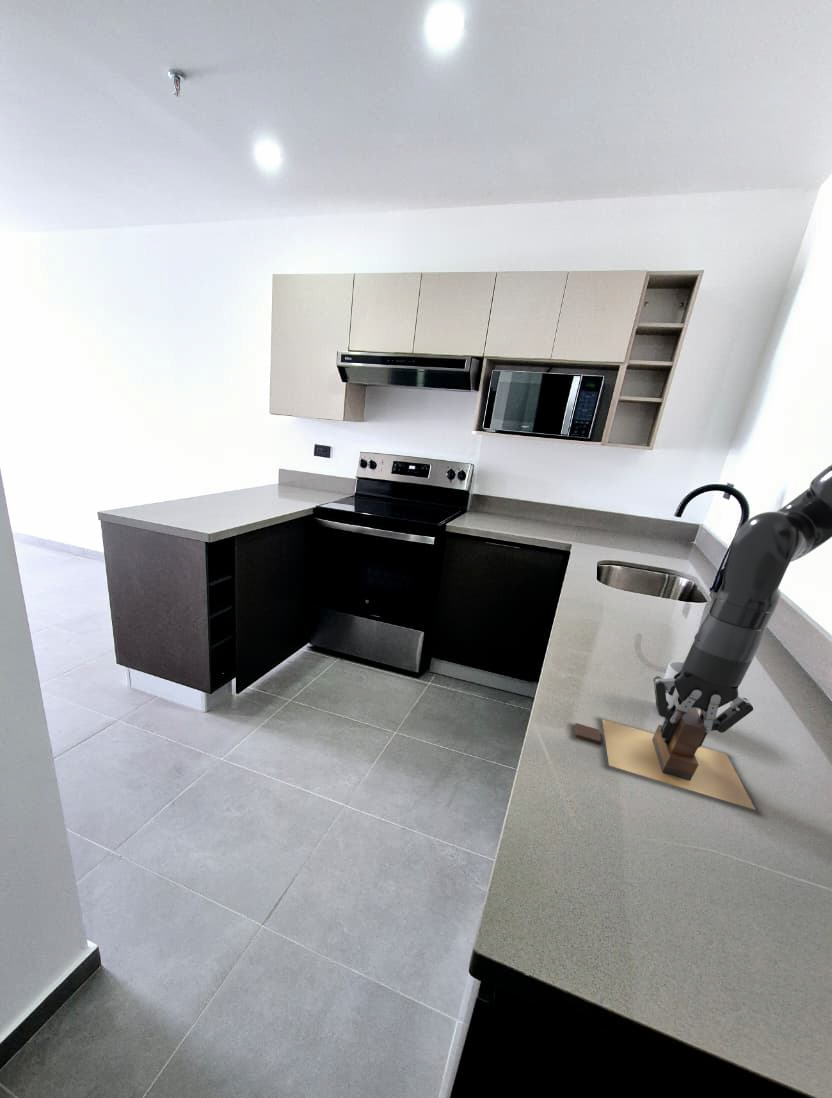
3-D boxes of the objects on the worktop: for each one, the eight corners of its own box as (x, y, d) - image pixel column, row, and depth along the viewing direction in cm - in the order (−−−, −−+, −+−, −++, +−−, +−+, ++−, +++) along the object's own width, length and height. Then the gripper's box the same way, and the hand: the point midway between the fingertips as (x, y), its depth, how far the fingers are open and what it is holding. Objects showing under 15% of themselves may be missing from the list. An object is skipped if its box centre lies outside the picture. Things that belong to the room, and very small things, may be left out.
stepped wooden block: (677, 746, 86) (697, 704, 83) (690, 781, 78) (713, 736, 74) (651, 739, 87) (670, 698, 84) (662, 772, 79) (683, 727, 75)
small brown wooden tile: (596, 736, 88) (599, 729, 87) (598, 748, 84) (601, 741, 84) (572, 729, 89) (575, 722, 88) (573, 741, 86) (576, 734, 85)
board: (723, 758, 86) (726, 753, 86) (752, 814, 74) (755, 809, 73) (600, 723, 92) (602, 719, 92) (607, 770, 79) (609, 765, 79)
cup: (647, 716, 97) (667, 670, 93) (651, 700, 103) (670, 657, 99) (695, 733, 93) (718, 687, 89) (696, 716, 99) (718, 672, 95)
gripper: (675, 645, 73) (633, 742, 80) (789, 671, 69) (734, 770, 76) (666, 628, 79) (628, 719, 86) (769, 651, 75) (720, 744, 82)
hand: (678, 743), depth 81 cm, fingers closed on stepped wooden block, 3 cm apart
